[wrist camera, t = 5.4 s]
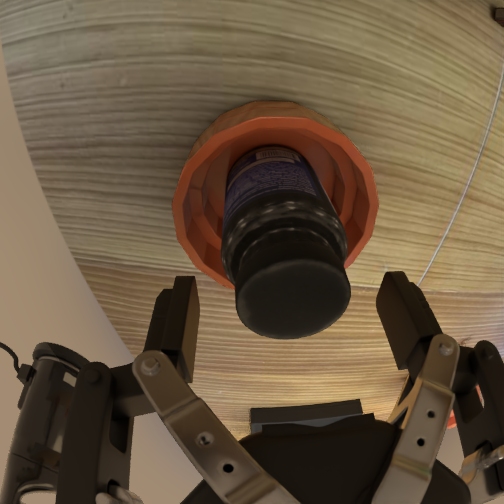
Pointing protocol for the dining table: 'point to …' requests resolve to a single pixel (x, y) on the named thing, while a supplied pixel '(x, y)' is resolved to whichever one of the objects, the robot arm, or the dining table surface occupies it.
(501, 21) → the knife
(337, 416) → the tray
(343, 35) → the dining table surface
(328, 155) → the bowl
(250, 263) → the pill bottle
